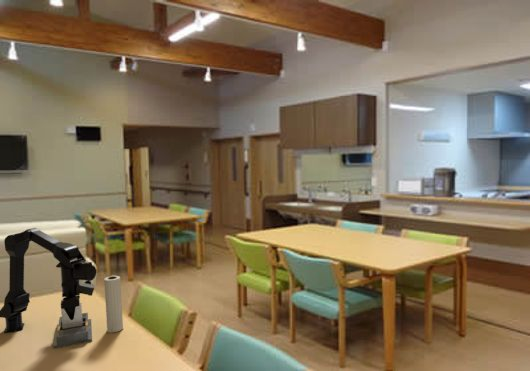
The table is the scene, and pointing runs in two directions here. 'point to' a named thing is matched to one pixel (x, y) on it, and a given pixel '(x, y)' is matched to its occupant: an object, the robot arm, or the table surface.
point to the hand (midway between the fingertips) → (72, 318)
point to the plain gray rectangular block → (76, 321)
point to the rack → (73, 333)
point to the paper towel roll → (113, 303)
